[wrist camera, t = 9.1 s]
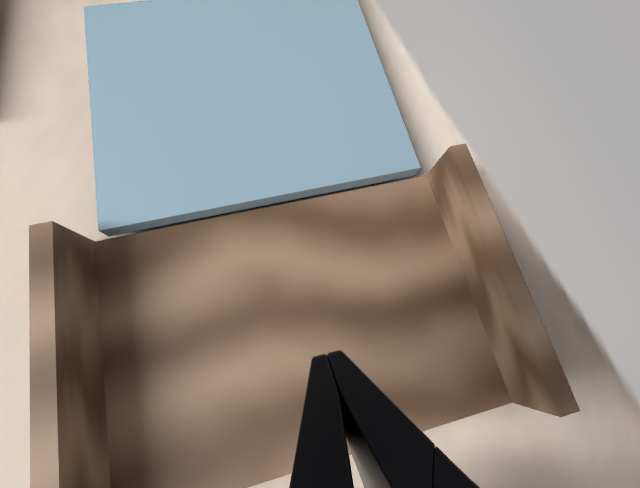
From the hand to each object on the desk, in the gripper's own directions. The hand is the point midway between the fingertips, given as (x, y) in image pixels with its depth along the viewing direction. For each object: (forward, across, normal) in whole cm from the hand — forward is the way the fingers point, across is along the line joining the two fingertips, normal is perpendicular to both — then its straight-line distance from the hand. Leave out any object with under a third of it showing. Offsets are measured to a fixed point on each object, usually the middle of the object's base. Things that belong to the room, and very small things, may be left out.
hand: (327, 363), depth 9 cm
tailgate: (+16, 0, +1) cm, 16 cm away
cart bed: (+11, 0, +8) cm, 14 cm away
